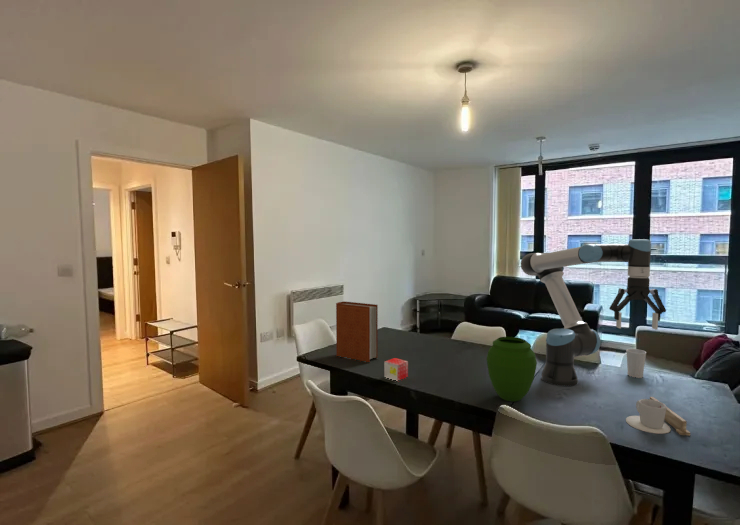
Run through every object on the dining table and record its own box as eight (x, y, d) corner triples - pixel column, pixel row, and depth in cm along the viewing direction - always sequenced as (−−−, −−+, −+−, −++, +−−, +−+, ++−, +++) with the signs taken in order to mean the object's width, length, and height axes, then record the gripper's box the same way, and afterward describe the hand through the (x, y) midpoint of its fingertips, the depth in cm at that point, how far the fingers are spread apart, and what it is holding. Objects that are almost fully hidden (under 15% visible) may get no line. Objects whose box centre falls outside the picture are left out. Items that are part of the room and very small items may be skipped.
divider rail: (680, 434, 134) (680, 421, 134) (645, 407, 156) (646, 395, 156) (690, 435, 134) (690, 422, 134) (654, 407, 156) (654, 396, 156)
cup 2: (626, 417, 147) (627, 396, 146) (647, 416, 147) (647, 395, 147) (649, 431, 136) (650, 408, 135) (671, 430, 137) (672, 407, 136)
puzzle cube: (384, 377, 190) (384, 361, 190) (394, 373, 196) (394, 357, 195) (397, 382, 185) (397, 365, 184) (408, 377, 190) (408, 361, 190)
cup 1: (648, 379, 188) (649, 353, 187) (629, 377, 189) (630, 352, 189) (640, 373, 196) (641, 349, 195) (622, 372, 197) (623, 348, 196)
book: (377, 359, 219) (377, 304, 217) (369, 363, 212) (369, 306, 210) (343, 352, 231) (343, 301, 230) (335, 356, 225) (334, 303, 223)
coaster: (636, 432, 136) (636, 431, 136) (619, 415, 149) (619, 414, 149) (679, 435, 134) (679, 434, 134) (658, 418, 147) (658, 417, 147)
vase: (531, 412, 152) (532, 348, 151) (479, 401, 162) (480, 341, 161) (539, 395, 169) (541, 338, 167) (492, 386, 179) (493, 332, 177)
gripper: (609, 277, 162) (607, 329, 164) (677, 278, 158) (675, 331, 160) (601, 275, 170) (600, 325, 171) (667, 276, 166) (664, 327, 167)
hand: (636, 328), depth 165 cm, fingers open, 13 cm apart
